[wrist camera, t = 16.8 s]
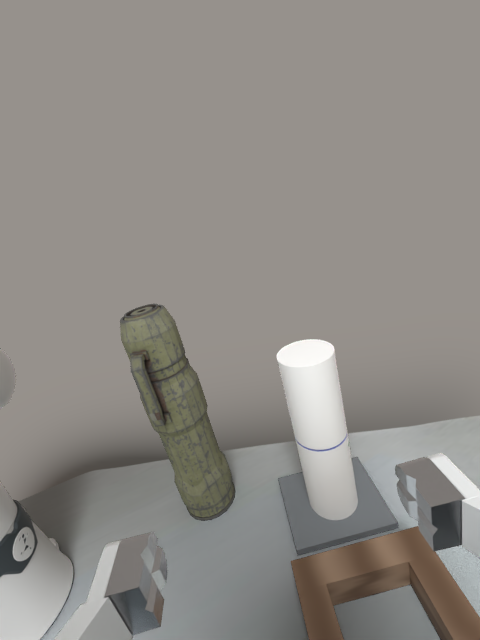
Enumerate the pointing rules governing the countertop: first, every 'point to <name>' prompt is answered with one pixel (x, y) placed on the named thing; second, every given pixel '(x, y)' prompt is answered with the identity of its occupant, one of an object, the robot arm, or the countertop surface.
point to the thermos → (177, 410)
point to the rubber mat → (323, 532)
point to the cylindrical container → (319, 426)
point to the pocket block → (382, 584)
